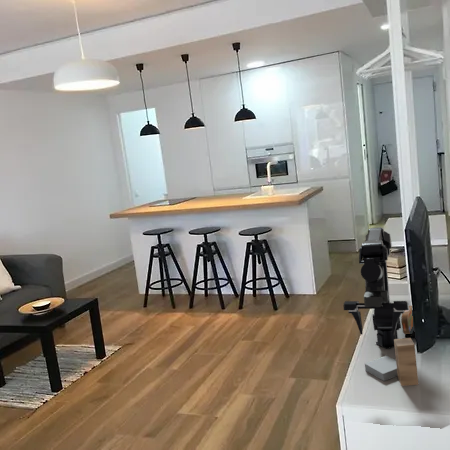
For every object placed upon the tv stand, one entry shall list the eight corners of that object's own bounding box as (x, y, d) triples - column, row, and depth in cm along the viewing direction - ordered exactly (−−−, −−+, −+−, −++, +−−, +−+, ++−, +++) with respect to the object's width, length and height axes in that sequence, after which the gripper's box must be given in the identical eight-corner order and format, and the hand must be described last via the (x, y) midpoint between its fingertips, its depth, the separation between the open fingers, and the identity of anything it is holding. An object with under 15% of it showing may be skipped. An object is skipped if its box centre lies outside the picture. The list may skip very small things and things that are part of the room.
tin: (410, 338, 184) (408, 317, 182) (401, 338, 185) (399, 316, 184) (419, 322, 196) (417, 302, 195) (410, 322, 198) (408, 301, 196)
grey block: (387, 362, 169) (386, 355, 169) (406, 372, 161) (405, 364, 160) (365, 370, 166) (364, 363, 165) (383, 381, 158) (383, 373, 157)
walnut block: (397, 378, 158) (393, 339, 156) (414, 376, 157) (410, 337, 155) (401, 385, 153) (397, 346, 151) (418, 384, 153) (414, 344, 150)
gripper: (339, 282, 151) (341, 335, 149) (404, 281, 144) (408, 337, 142) (345, 283, 161) (347, 333, 159) (407, 282, 154) (410, 335, 152)
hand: (377, 334), depth 153 cm, fingers open, 9 cm apart
